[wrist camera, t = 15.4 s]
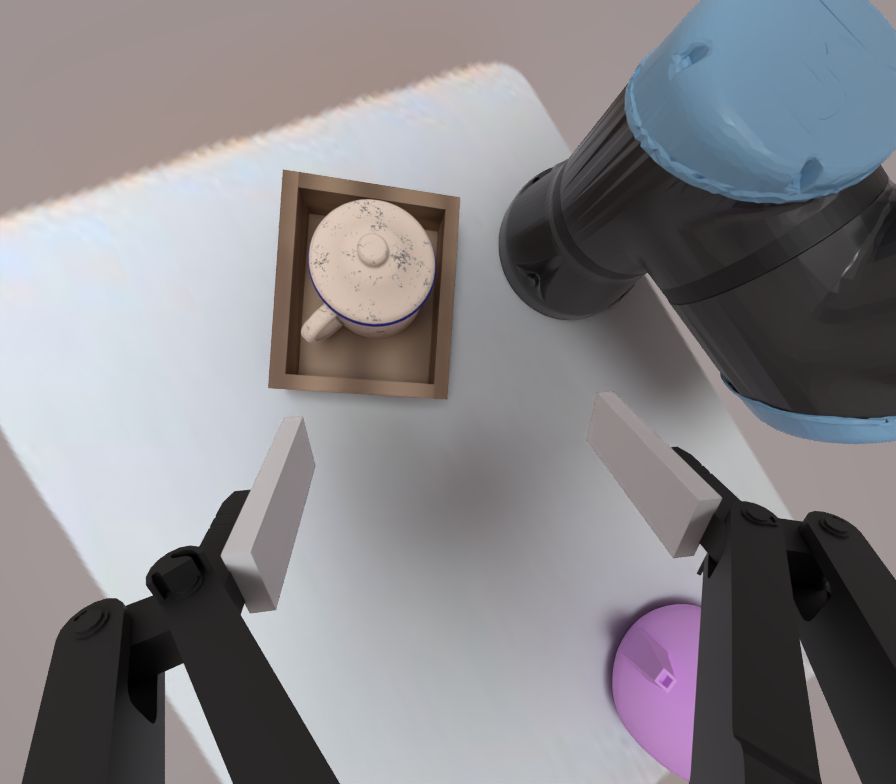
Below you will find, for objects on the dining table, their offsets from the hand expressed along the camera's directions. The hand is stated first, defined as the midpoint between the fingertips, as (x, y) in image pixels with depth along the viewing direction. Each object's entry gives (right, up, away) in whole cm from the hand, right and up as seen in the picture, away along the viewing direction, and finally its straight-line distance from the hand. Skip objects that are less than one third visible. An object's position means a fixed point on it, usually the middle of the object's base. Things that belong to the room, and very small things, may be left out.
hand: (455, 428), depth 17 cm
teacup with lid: (-8, +10, +18) cm, 22 cm away
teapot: (+24, -29, +25) cm, 45 cm away
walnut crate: (-8, +10, +19) cm, 23 cm away
